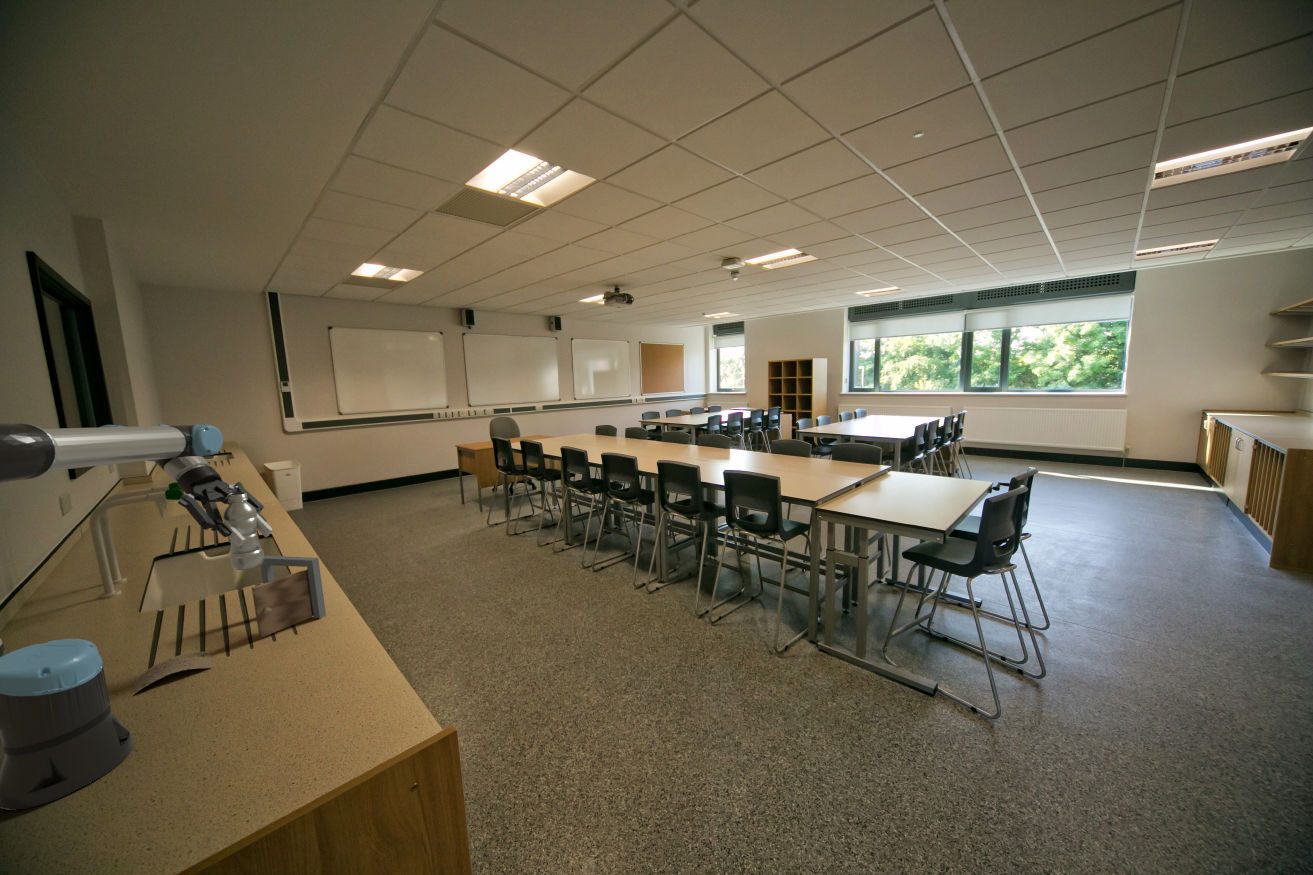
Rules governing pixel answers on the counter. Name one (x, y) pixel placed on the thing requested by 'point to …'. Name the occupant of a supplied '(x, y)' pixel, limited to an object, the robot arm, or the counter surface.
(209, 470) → the robot arm
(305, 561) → the door frame
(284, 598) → the door
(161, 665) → the clay tablet
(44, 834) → the counter surface
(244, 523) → the silver metal bottle
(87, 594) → the counter surface
